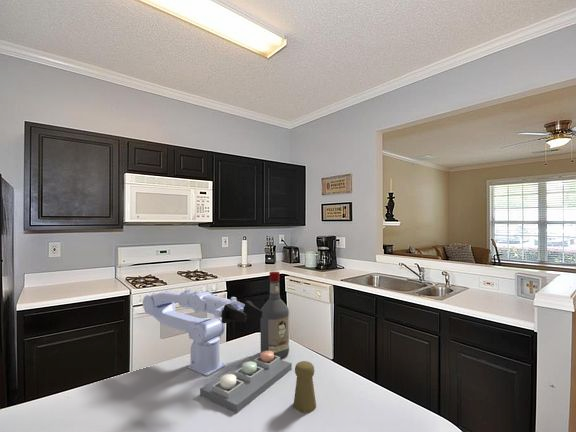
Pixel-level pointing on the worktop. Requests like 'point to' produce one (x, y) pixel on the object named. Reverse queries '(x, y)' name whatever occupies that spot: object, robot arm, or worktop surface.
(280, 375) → the button panel
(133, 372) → the worktop surface
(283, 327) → the liquor
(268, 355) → the terracotta button
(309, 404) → the olive pawn
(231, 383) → the cream button
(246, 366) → the sage button
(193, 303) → the robot arm
